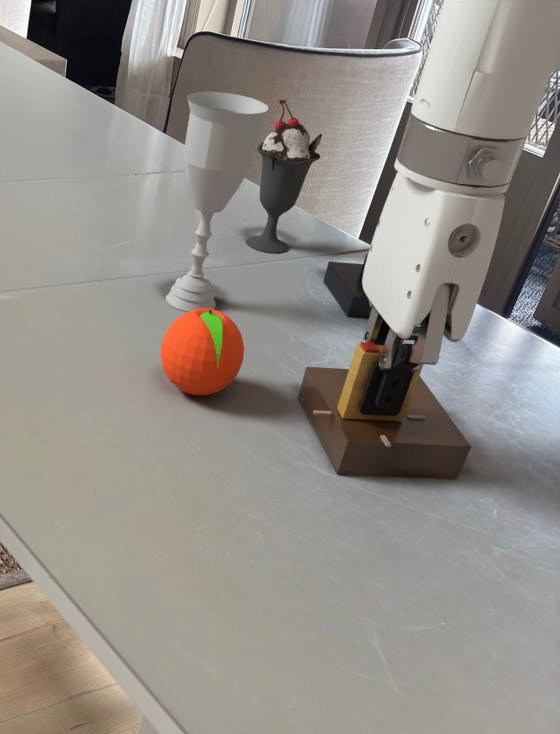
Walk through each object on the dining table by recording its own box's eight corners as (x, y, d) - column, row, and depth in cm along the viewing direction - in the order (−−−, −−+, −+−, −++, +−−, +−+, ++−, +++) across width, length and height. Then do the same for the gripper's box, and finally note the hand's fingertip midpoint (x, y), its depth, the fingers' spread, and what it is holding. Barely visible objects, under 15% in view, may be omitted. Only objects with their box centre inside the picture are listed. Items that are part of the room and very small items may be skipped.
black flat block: (410, 287, 106) (422, 250, 104) (440, 323, 100) (454, 285, 97) (322, 281, 105) (333, 244, 102) (347, 317, 98) (359, 278, 96)
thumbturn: (396, 411, 78) (420, 344, 74) (402, 421, 76) (427, 353, 73) (336, 408, 77) (357, 340, 73) (342, 419, 76) (364, 350, 72)
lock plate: (406, 403, 86) (418, 370, 83) (460, 483, 76) (475, 448, 74) (279, 397, 84) (288, 363, 82) (319, 478, 75) (330, 442, 73)
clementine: (247, 418, 81) (267, 337, 76) (166, 416, 79) (181, 334, 75) (222, 372, 86) (239, 294, 82) (147, 370, 85) (159, 290, 80)
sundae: (225, 240, 111) (255, 94, 101) (262, 231, 115) (294, 89, 105) (270, 261, 108) (305, 112, 98) (307, 250, 112) (344, 106, 102)
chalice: (216, 288, 100) (255, 94, 88) (235, 317, 95) (279, 116, 83) (147, 286, 99) (178, 89, 87) (163, 315, 94) (197, 110, 82)
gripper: (565, 199, 59) (455, 462, 71) (465, 124, 70) (385, 361, 82) (449, 189, 58) (357, 458, 70) (366, 115, 69) (300, 356, 81)
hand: (373, 404), depth 76 cm, fingers closed on thumbturn
